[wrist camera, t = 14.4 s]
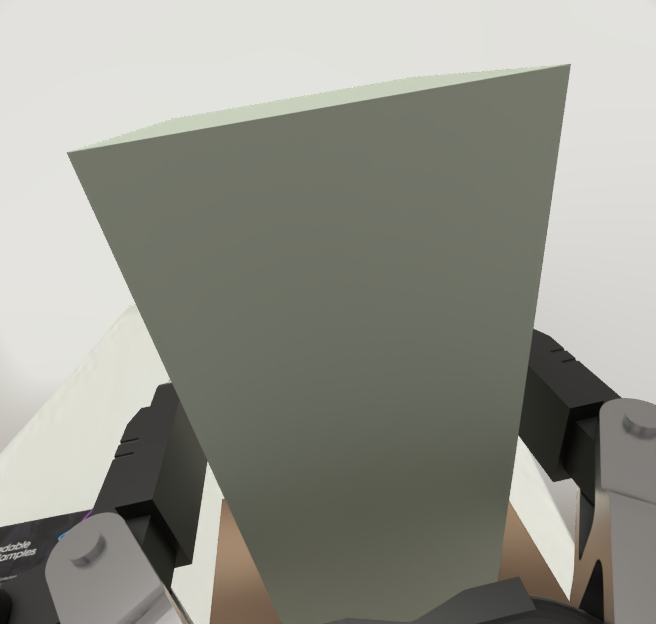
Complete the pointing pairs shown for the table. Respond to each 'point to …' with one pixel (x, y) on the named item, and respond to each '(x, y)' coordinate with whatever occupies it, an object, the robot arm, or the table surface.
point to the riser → (261, 616)
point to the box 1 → (33, 542)
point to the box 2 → (348, 319)
